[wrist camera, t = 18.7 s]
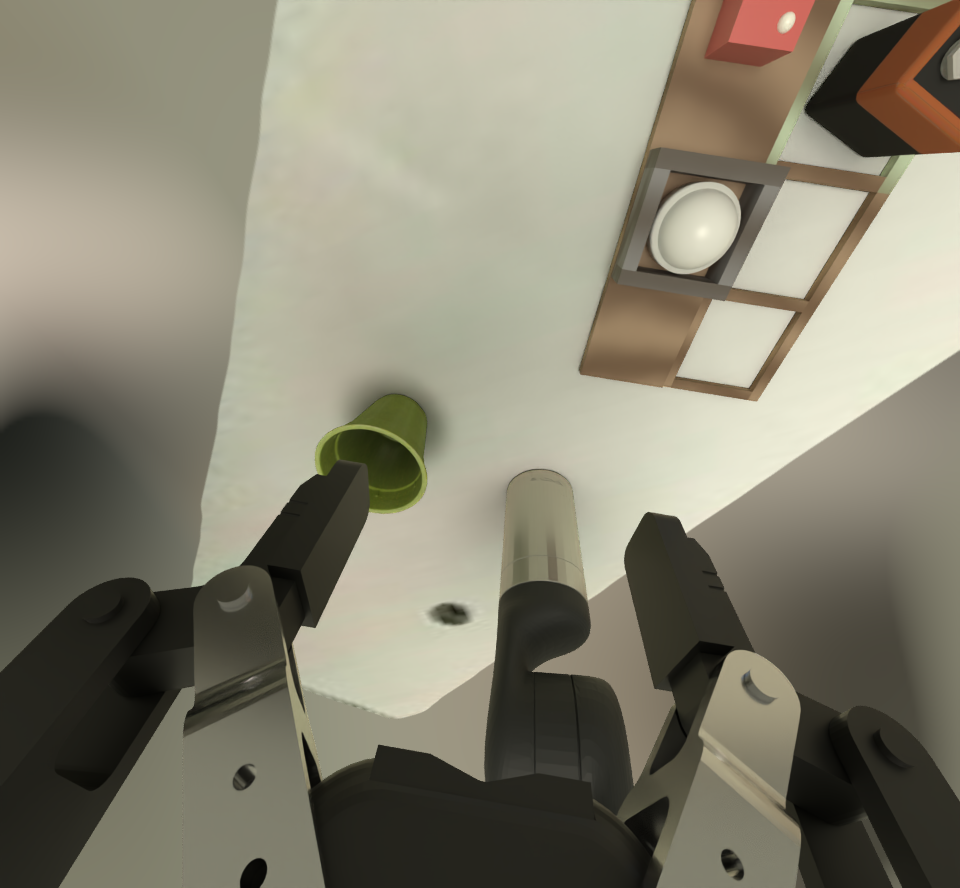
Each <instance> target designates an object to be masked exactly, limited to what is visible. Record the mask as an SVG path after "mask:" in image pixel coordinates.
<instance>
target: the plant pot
mask: <svg viewBox="0 0 960 888" xmlns="http://www.w3.org/2000/svg"><path fill="white" fill-rule="evenodd" d="M426 428H427V419H426V415H425V413H424V411H423V410H422V409H421V408H420V406H419V405H418V404H417V403H416V402H415V401H414V400H412V399H410V398H408V397H406V396H403V395H397V394H391V395H386V396H384V397H382V398H380V399H378V400H377V401H376V402H375V403H373V404H372V405H371V406H370V407H369V408H368V409H366V410H365V411H364V412H363V413H362V414H360V415H359V416H358V417H357V418H356V419H354V420H353V421H352V422H350V423H348V424H346V425H344V426H341V427H338V428H335V429H333V430H332V431H330V432H328V433H327V434H326V435H325V436H324V437H323V438H322V439H321V440H320V442H319V443H318V446H317V448H316V452H315V465H316V469H317V472H318V474H319V475H324V476H327V475H328V473H329V472H330V470H331V469H332V467H333V466H334V464H335V463H336V462H337V461H338V460H346V461H352V462H358V463H364V464H366V465H367V468H368V482H369V497H370V506H369V512H373V513H381V514H388V513H396V512H400V511H403V510H406V509H408V508H410V507H412V506H413V505H415V504H416V503H417V502H418V501H419V500H420V499H421V498H422V496H423V494H424V492H425V490H426V486H427V472H426V468H425V465H424V457H423V456H424V447H425V438H426Z"/></svg>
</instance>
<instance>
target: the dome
mask: <svg viewBox="0 0 960 888" xmlns="http://www.w3.org/2000/svg"><path fill="white" fill-rule="evenodd" d="M740 220H741V210H740V205H739V201H738V199H737V197H736V195H735V194H734V192H733V191H732V190H731V189H729V188H728V187H727V186H725V185H723V184H720V183H716V182H692V183H688V184H685V185H682V186H680V187H678V188H677V189H675V190H673V191H672V192H671V193H669V194H668V195H667V196H666V197H665V198H664V199H663V200H662V201H661V202H660V203H659V206H658V209H657V212H656V215H655V218H654V220H653V223H652V226H651V229H650V232H649V235H648V238H647V247H648V250H649V253H650V255H651V257H652V258H653V259H654V260H655V261H656V262H657V263H658V264H659V265H661V266H662V267H664V268H665V269H667V270H668V271H671V272H673V273H677V274H691V273H695V272H699V271H701V270H703V269H706V268H707V267H709V266H711V265H712V264H714V263H715V262H716V261H717V260H719V259H720V258H721V257H722V256H723V255H724V254H725V253H726V251H727V250H728V249H729V247H730V246H731V244H732V243H733V241H734V239H735V237H736V235H737V232H738V229H739V226H740Z"/></svg>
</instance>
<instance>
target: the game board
mask: <svg viewBox="0 0 960 888" xmlns="http://www.w3.org/2000/svg"><path fill="white" fill-rule="evenodd" d="M949 1H952V0H815V2H814V4H813V6H812V9H811V11H810V13H809V16H808V18H807V20H806V23H805V25H804V27H803V29H802V32H801V34H800V36H799V39H798V41H797V43H796V46H795V48H794V50H793V52H791V53H789V54H787V55H785V56H783V57H781V58H778V59H776V60H774V61H772V62H770V63H768V64H766V65H764V66H761V67H758V66H751V65H744V64H738V63H731V62H725V61H718V60H711V59H705V58H704V57H705V54H706V51H707V48H708V45H709V42H710V39H711V36H712V33H713V30H714V27H715V24H716V21H717V18H718V15H719V12H720V9H721V6H722V3H723V0H692V1H691V4H690V8H689V11H688V14H687V18H686V21H685V24H684V27H683V31H682V34H681V37H680V41H679V44H678V47H677V50H676V54H675V57H674V60H673V63H672V67H671V70H670V73H669V77H668V80H667V83H666V86H665V90H664V93H663V96H662V100H661V103H660V106H659V109H658V113H657V116H656V119H655V123H654V126H653V129H652V132H651V136H650V139H649V142H648V145H647V149H646V152H645V155H644V159H643V162H642V165H641V168H640V172H639V175H638V178H637V182H636V185H635V188H634V191H633V195H632V198H631V201H630V205H629V208H628V211H627V214H626V218H625V221H624V224H623V228H622V231H621V234H620V237H619V241H618V244H617V247H616V250H615V254H614V257H613V260H612V264H611V267H610V270H609V273H608V277H607V280H606V283H605V287H604V290H603V293H602V296H601V300H600V303H599V306H598V310H597V313H596V316H595V319H594V323H593V326H592V329H591V332H590V336H589V339H588V342H587V346H586V349H585V352H584V355H583V359H582V362H581V365H580V369H579V371H580V374H582V375H588V376H594V377H600V378H606V379H612V380H619V381H625V382H631V383H637V384H643V385H649V386H655V387H663V386H665V387H671V388H677V389H683V390H689V391H695V392H701V393H708V394H714V395H720V396H726V397H732V398H738V399H744V400H751V401H757V400H758V399H759V397H760V396H761V394H762V393H763V391H764V390H765V388H766V386H767V385H768V383H769V382H770V380H771V379H772V377H773V376H774V374H775V372H776V371H777V369H778V368H779V366H780V365H781V363H782V362H783V360H784V358H785V357H786V355H787V354H788V352H789V351H790V349H791V347H792V346H793V344H794V343H795V341H796V340H797V338H798V337H799V335H800V333H801V332H802V330H803V329H804V327H805V326H806V324H807V323H808V321H809V319H810V318H811V316H812V315H813V313H814V312H815V310H816V309H817V307H818V305H819V304H820V302H821V301H822V299H823V298H824V296H825V295H826V293H827V291H828V290H829V288H830V287H831V285H832V284H833V282H834V280H835V279H836V277H837V276H838V274H839V273H840V271H841V270H842V268H843V266H844V265H845V263H846V262H847V260H848V259H849V257H850V256H851V254H852V252H853V251H854V249H855V248H856V246H857V245H858V243H859V242H860V240H861V238H862V237H863V235H864V234H865V232H866V231H867V229H868V228H869V226H870V224H871V223H872V221H873V220H874V218H875V217H876V215H877V213H878V212H879V210H880V209H881V207H882V206H883V204H884V203H885V201H886V199H887V198H888V196H889V195H890V193H891V192H892V190H893V189H894V187H895V185H896V184H897V182H898V181H899V179H900V178H901V176H902V175H903V173H904V171H905V170H906V168H907V167H908V165H909V164H910V162H911V161H912V159H913V157H914V156H915V155H899V156H892V157H891V158H890V160H889V162H888V163H887V165H886V167H885V168H884V170H883V171H882V173H881V175H880V176H876V175H869V174H863V173H856V172H850V171H843V170H837V169H830V168H824V167H817V166H811V165H804V164H798V163H791V162H785V161H778V159H779V157H780V155H781V153H782V151H783V149H784V147H785V145H786V143H787V140H788V138H789V136H790V134H791V132H792V130H793V128H794V126H795V124H796V122H797V119H798V117H799V115H800V113H801V111H802V109H803V107H804V105H805V103H806V100H807V98H808V96H809V94H810V92H811V90H812V88H813V86H814V84H815V81H816V79H817V77H818V75H819V73H820V71H821V69H822V67H823V65H824V62H825V60H826V58H827V56H828V54H829V52H830V50H831V48H832V46H833V44H834V41H835V39H836V37H837V35H838V33H839V31H840V29H841V27H842V25H843V22H844V20H845V18H846V16H847V14H848V12H849V10H850V8H851V6H852V4H858V5H865V6H872V7H879V8H885V9H892V10H899V11H906V12H913V13H919V14H920V13H923V12H925V11H928V10H930V9H932V8H935V7H937V6H940V5H942V4H944V3H947V2H949ZM785 179H788V180H794V181H801V182H807V183H814V184H820V185H827V186H833V187H840V188H846V189H853V190H859V191H866V192H870V193H869V194H868V196H867V197H866V199H865V201H864V202H863V204H862V206H861V207H860V209H859V211H858V212H857V214H856V215H855V217H854V219H853V220H852V222H851V224H850V225H849V227H848V228H847V230H846V232H845V233H844V235H843V237H842V238H841V240H840V241H839V243H838V245H837V246H836V248H835V250H834V251H833V253H832V255H831V256H830V258H829V259H828V261H827V263H826V264H825V266H824V268H823V269H822V271H821V272H820V274H819V276H818V277H817V279H816V281H815V282H814V284H813V285H812V287H811V289H810V290H809V292H808V294H807V295H806V297H805V298H804V299H798V298H792V297H785V296H779V295H773V294H767V293H760V292H754V291H748V290H741V289H735V288H732V286H733V284H734V282H735V280H736V278H737V276H738V274H739V272H740V270H741V268H742V266H743V264H744V262H745V260H746V257H747V255H748V253H749V251H750V249H751V247H752V245H753V243H754V241H755V239H756V237H757V235H758V233H759V231H760V229H761V227H762V225H763V223H764V221H765V219H766V217H767V215H768V213H769V211H770V209H771V207H772V205H773V203H774V201H775V199H776V197H777V195H778V193H779V191H780V189H781V187H782V185H783V183H784V181H785ZM692 182H716V183H720V184H723V185H725V186H727V187H728V188H729V189H731V190H732V191H733V192H734V194H735V195H736V197H737V199H738V201H739V205H740V210H741V220H740V226H739V229H738V232H737V235H736V237H735V239H734V241H733V243H732V244H731V246H730V247H729V249H728V250H727V251H726V253H725V254H724V255H723V256H722V257H721V258H720V259H719V260H717V261H716V262H715V263H714V264H712V265H711V266H709V267H707V268H706V269H703V270H701V271H699V272H695V273H691V274H677V273H673V272H671V271H668V270H667V269H665V268H664V267H662V266H661V265H659V264H658V263H657V262H656V261H655V260H654V259H653V258H652V257H651V255H650V253H649V250H648V247H647V238H648V235H649V232H650V229H651V226H652V223H653V220H654V218H655V215H656V212H657V209H658V206H659V203H660V202H661V201H662V200H663V199H664V198H665V197H666V196H667V195H668V194H669V193H671V192H672V191H673V190H675V189H677V188H678V187H680V186H682V185H685V184H688V183H692ZM712 299H715V300H721V301H725V300H727V301H733V302H739V303H745V304H752V305H758V306H764V307H771V308H777V309H783V310H789V311H796V313H795V315H794V316H793V318H792V320H791V321H790V323H789V325H788V326H787V328H786V329H785V331H784V333H783V334H782V336H781V338H780V339H779V341H778V342H777V344H776V346H775V347H774V349H773V351H772V352H771V354H770V356H769V357H768V359H767V360H766V362H765V364H764V365H763V367H762V369H761V370H760V372H759V373H758V375H757V377H756V378H755V380H754V382H753V383H752V385H751V386H750V388H743V387H737V386H730V385H724V384H718V383H712V382H706V381H700V380H693V379H687V378H681V377H676V374H677V372H678V370H679V368H680V366H681V364H682V362H683V360H684V358H685V356H686V353H687V351H688V349H689V347H690V345H691V343H692V341H693V339H694V337H695V334H696V332H697V330H698V328H699V326H700V324H701V322H702V320H703V318H704V315H705V313H706V311H707V309H708V307H709V305H710V303H711V301H712Z"/></svg>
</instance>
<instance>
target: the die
mask: <svg viewBox="0 0 960 888" xmlns="http://www.w3.org/2000/svg"><path fill="white" fill-rule="evenodd" d="M814 2H815V0H723V3H722V6H721V9H720V12H719V15H718V18H717V21H716V24H715V27H714V30H713V33H712V36H711V39H710V42H709V45H708V48H707V51H706V54H705V57H704V58H705V59H711V60H718V61H725V62H731V63H738V64H744V65H751V66H758V67H761V66H764V65H766V64H768V63H770V62H772V61H774V60H776V59H778V58H781V57H783V56H785V55H787V54H789V53H791V52H793V50H794V48H795V46H796V43H797V41H798V39H799V36H800V34H801V32H802V29H803V27H804V25H805V23H806V20H807V18H808V16H809V13H810V11H811V9H812V6H813V4H814Z"/></svg>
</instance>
